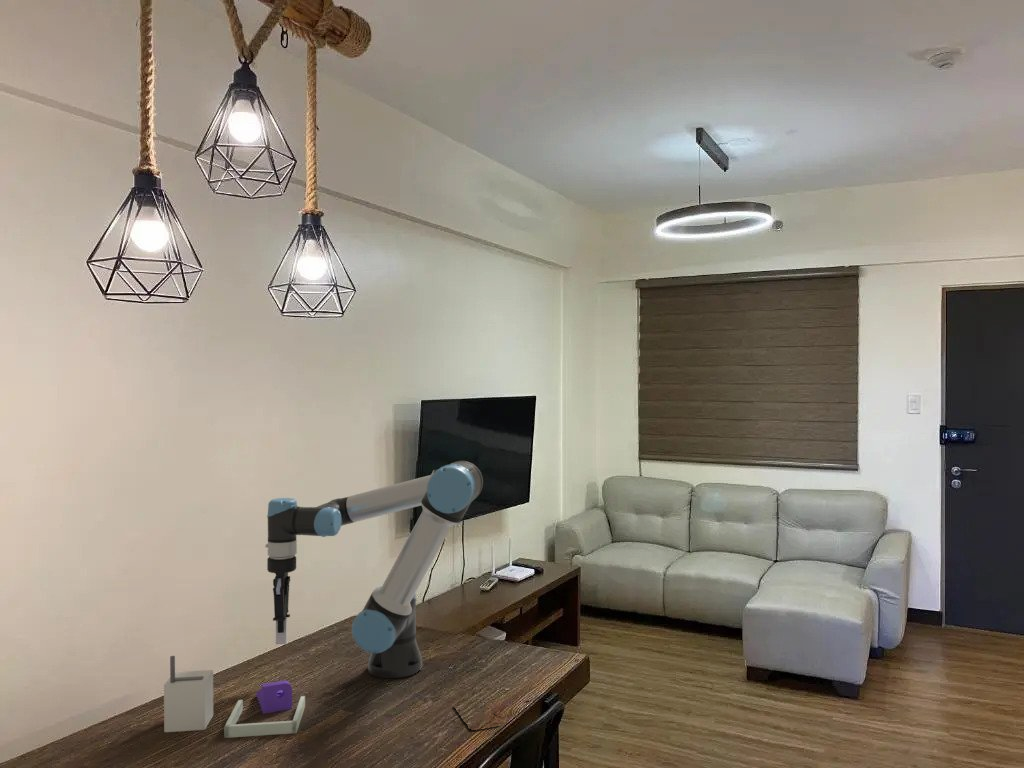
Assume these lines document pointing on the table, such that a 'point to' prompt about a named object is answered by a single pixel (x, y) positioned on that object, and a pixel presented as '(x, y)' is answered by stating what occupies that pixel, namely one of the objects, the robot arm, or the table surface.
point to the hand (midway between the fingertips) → (281, 643)
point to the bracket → (275, 696)
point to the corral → (262, 724)
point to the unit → (188, 700)
